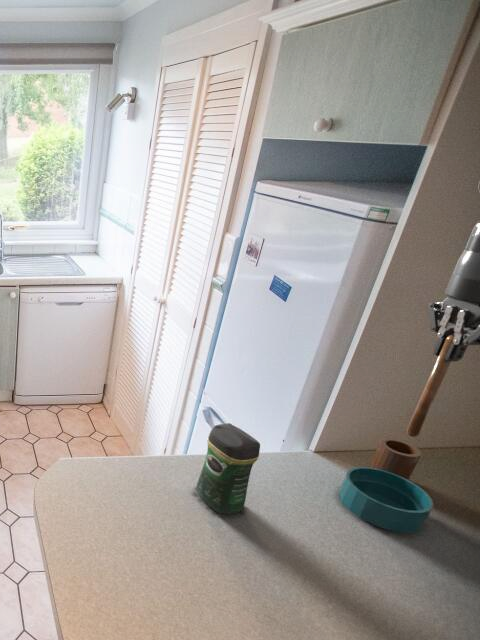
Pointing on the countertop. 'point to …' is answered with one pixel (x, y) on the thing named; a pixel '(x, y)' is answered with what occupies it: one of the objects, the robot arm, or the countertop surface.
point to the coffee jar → (227, 468)
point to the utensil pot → (396, 457)
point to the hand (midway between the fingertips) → (445, 357)
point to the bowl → (385, 499)
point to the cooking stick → (430, 390)
